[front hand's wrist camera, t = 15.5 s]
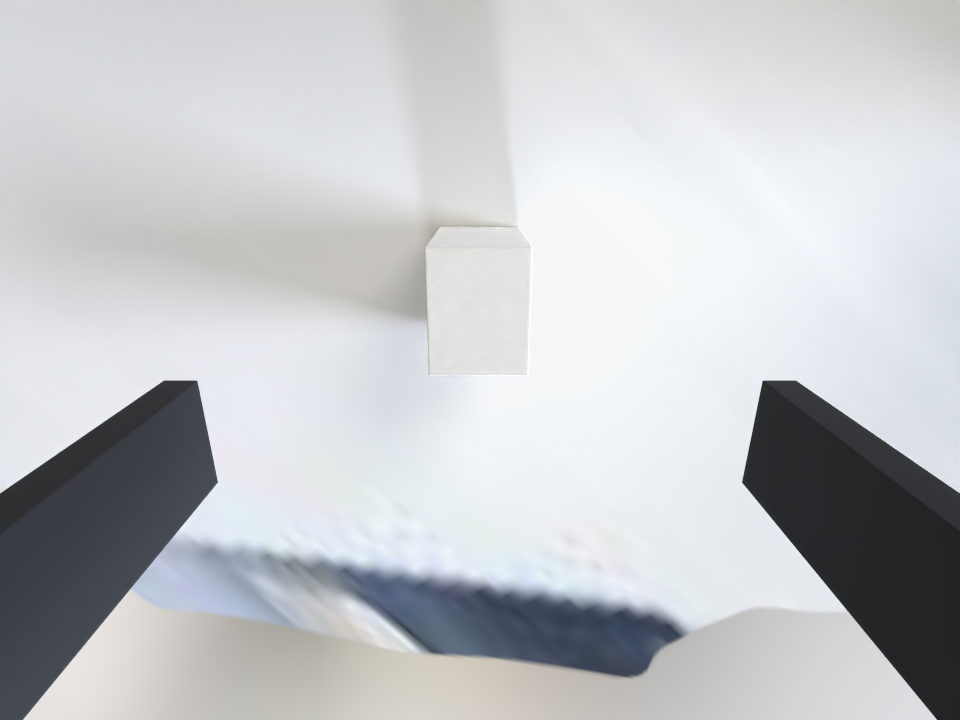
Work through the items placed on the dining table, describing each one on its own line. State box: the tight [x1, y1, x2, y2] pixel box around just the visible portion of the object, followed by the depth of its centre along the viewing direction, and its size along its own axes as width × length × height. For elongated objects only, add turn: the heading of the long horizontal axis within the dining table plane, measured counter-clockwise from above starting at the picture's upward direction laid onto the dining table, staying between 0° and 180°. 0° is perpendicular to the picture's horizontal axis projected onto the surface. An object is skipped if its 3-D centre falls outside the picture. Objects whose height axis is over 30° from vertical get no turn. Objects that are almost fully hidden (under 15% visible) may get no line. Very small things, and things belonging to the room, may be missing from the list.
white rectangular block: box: [425, 227, 533, 375], centre depth 28 cm, size 5×6×9 cm
